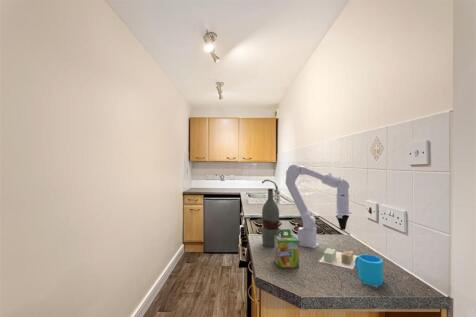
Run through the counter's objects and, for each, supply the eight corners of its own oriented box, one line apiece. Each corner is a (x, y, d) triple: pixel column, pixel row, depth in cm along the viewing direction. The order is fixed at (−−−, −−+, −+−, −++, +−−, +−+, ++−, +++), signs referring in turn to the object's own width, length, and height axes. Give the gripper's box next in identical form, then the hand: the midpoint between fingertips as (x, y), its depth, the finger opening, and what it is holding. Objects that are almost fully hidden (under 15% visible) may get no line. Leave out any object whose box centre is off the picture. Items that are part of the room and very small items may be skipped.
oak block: (344, 257, 113) (341, 262, 108) (344, 249, 113) (341, 254, 108) (353, 259, 111) (350, 264, 105) (353, 251, 111) (350, 256, 106)
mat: (318, 262, 109) (318, 261, 109) (328, 251, 123) (328, 250, 123) (353, 270, 101) (353, 269, 101) (359, 257, 115) (359, 255, 115)
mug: (388, 284, 90) (388, 261, 90) (370, 287, 88) (369, 264, 88) (363, 270, 101) (363, 250, 102) (347, 272, 99) (346, 252, 100)
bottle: (260, 246, 130) (260, 189, 130) (263, 241, 139) (263, 187, 139) (278, 247, 128) (278, 190, 128) (280, 242, 136) (279, 188, 137)
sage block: (327, 255, 116) (323, 260, 110) (327, 248, 116) (323, 252, 110) (335, 257, 114) (332, 262, 108) (335, 249, 114) (332, 254, 108)
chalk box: (278, 268, 103) (277, 233, 103) (273, 259, 112) (273, 227, 112) (299, 268, 104) (299, 232, 104) (293, 259, 113) (293, 227, 113)
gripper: (348, 205, 118) (348, 234, 118) (353, 201, 130) (353, 227, 130) (333, 204, 122) (333, 232, 122) (339, 200, 134) (339, 225, 134)
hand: (342, 229), depth 126 cm, fingers closed
